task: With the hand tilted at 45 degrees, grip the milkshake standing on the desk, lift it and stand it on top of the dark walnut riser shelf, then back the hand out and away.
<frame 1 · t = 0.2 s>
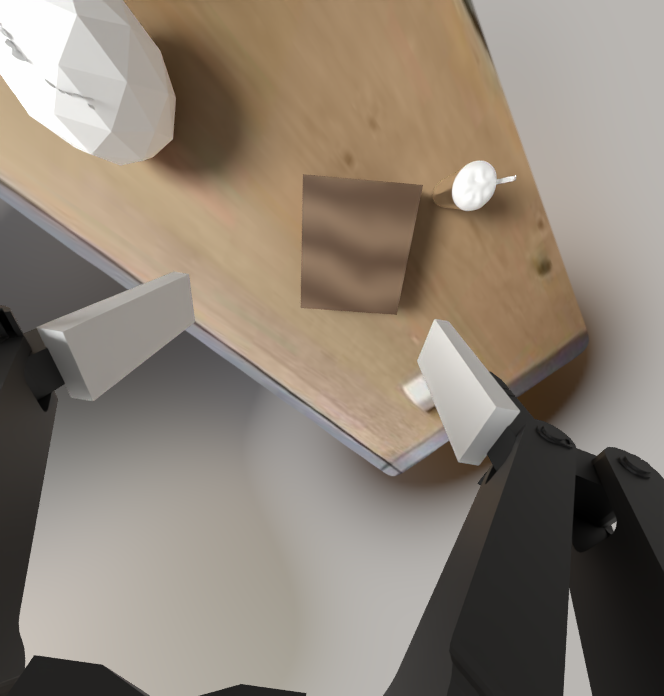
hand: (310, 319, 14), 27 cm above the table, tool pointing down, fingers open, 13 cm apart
geodesic sphere: (140, 105, 30), on the table
milkshake: (446, 192, 34), on the table
walnut riser: (352, 248, 37), on the table
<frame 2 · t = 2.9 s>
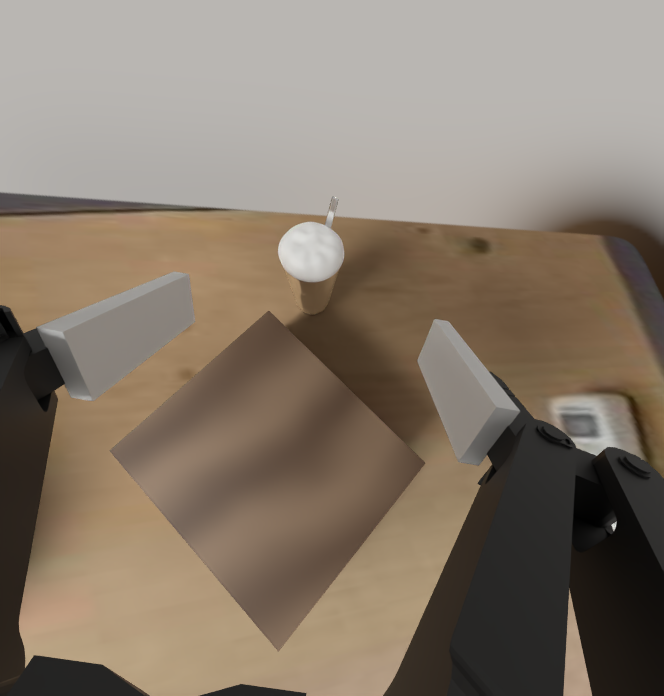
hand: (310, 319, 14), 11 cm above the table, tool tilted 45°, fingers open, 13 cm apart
milkshake: (314, 297, 26), on the table
walnut riser: (282, 446, 22), on the table
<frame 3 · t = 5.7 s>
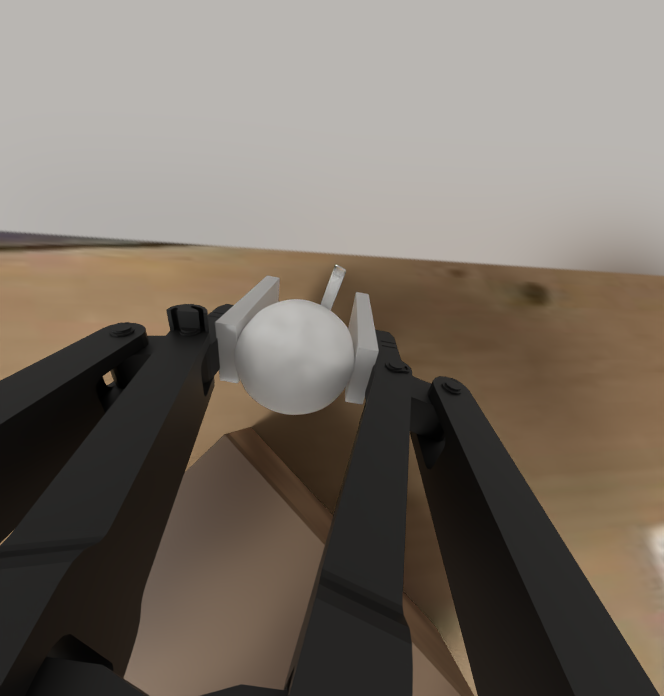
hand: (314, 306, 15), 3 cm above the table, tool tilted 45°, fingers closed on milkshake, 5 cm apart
milkshake: (305, 374, 18), on the table, touching gripper
walnut riser: (251, 624, 14), on the table
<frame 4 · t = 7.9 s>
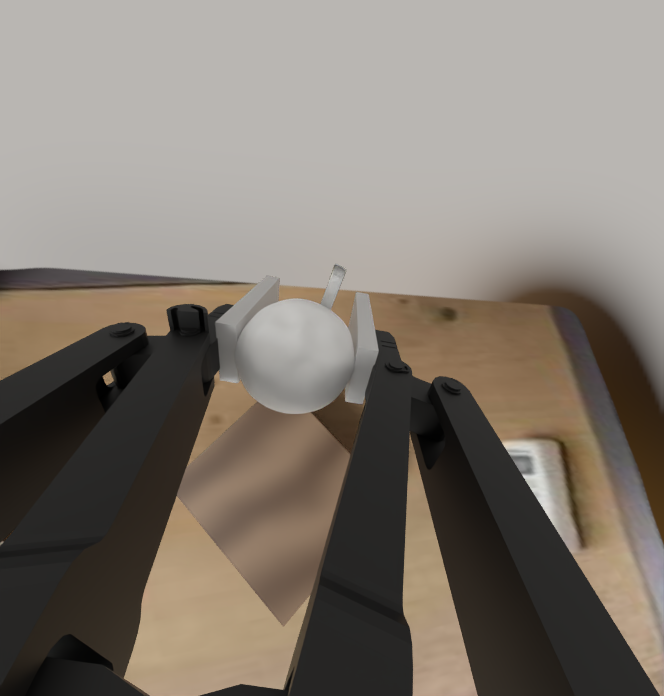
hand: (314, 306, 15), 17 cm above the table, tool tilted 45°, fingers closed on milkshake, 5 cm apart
milkshake: (305, 373, 18), point 14 cm above the table, touching gripper
walnut riser: (287, 477, 29), on the table
when the fingers open (10 cm above the table, at t = 10.1 s): milkshake drops 1 cm, resting on walnut riser.
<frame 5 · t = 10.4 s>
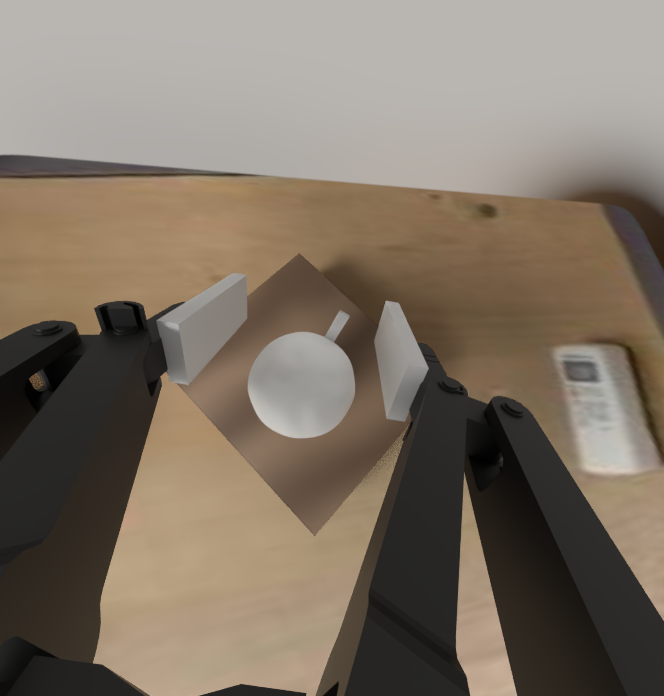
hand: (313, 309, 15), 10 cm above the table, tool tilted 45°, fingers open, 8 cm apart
milkshake: (306, 376, 19), point 5 cm above the table, touching walnut riser
walnut riser: (307, 383, 24), on the table
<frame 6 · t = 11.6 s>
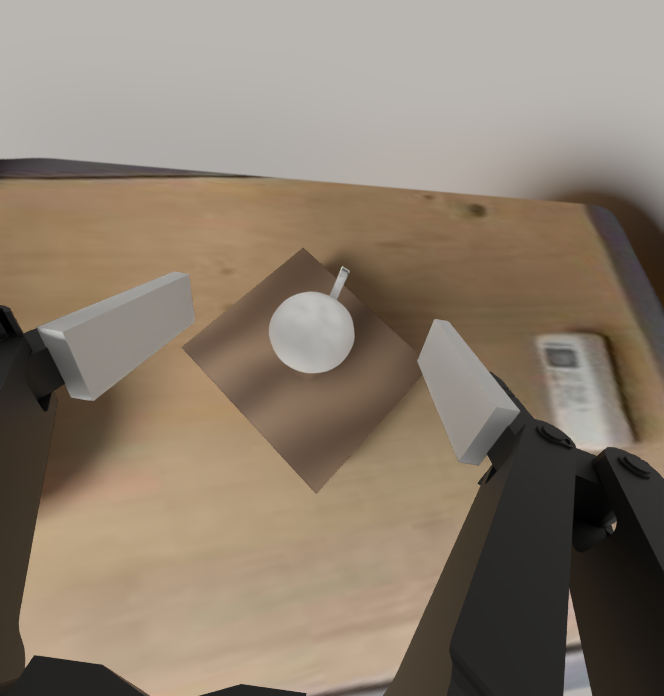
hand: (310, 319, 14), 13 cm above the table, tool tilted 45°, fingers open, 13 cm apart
milkshake: (309, 357, 21), point 5 cm above the table, touching walnut riser
walnut riser: (310, 366, 26), on the table
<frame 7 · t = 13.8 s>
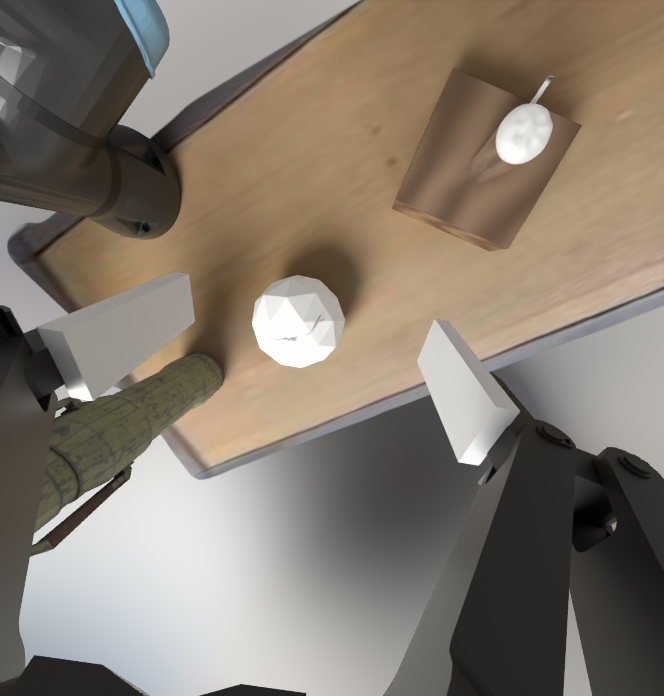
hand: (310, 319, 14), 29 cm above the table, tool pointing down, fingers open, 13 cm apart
geodesic sphere: (308, 315, 44), on the table
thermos: (203, 373, 49), on the table
milkshake: (483, 165, 31), point 5 cm above the table, touching walnut riser
walnut riser: (466, 179, 35), on the table
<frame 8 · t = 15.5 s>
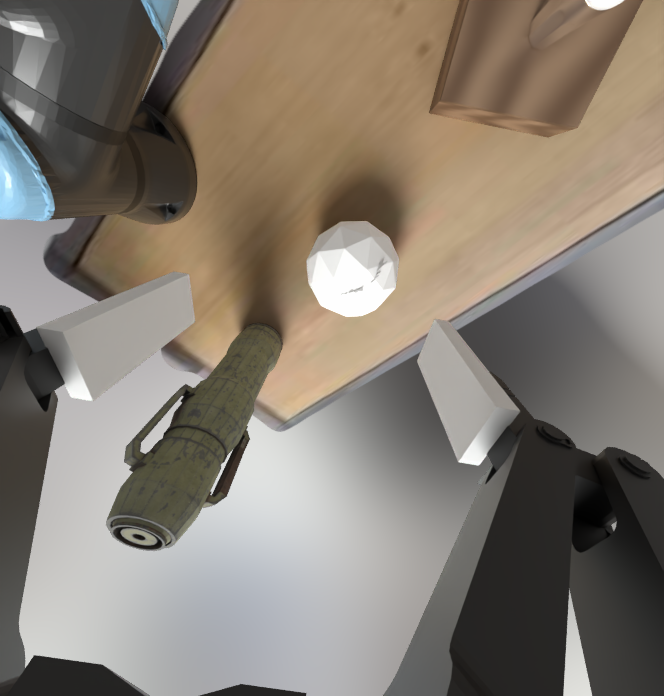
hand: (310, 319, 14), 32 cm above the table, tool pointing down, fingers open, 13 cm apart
geodesic sphere: (352, 261, 43), on the table
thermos: (262, 341, 52), on the table
milkshake: (546, 21, 25), point 5 cm above the table, touching walnut riser
walnut riser: (517, 46, 29), on the table
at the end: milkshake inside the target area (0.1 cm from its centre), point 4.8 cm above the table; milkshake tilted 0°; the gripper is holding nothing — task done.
